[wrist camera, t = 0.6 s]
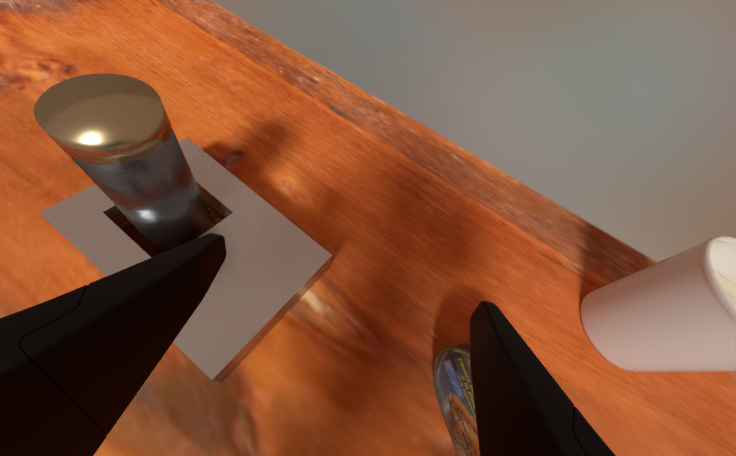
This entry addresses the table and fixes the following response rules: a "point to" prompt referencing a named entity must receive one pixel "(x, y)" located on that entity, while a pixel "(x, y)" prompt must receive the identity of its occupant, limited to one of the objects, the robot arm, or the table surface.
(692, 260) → the white paper cup
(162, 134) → the end plug
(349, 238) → the table surface
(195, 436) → the table surface
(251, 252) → the housing block
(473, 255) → the table surface
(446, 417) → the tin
